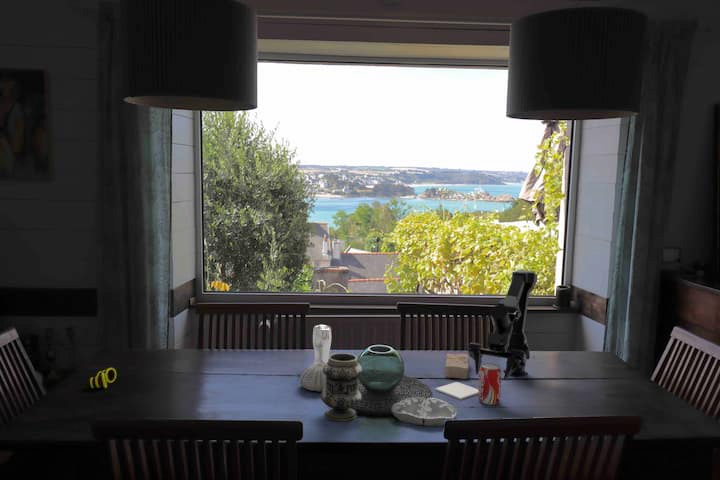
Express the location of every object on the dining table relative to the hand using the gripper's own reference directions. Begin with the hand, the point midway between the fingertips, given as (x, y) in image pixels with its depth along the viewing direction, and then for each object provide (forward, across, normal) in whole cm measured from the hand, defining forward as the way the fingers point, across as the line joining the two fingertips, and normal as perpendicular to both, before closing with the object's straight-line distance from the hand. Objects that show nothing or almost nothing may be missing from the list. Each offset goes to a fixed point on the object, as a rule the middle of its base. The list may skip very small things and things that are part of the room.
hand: (490, 376), depth 185 cm
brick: (-11, -20, +23) cm, 32 cm away
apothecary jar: (+31, -35, -19) cm, 50 cm away
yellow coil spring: (+46, -116, -33) cm, 129 cm away
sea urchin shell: (+19, -53, -7) cm, 57 cm away
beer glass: (+5, -65, +6) cm, 66 cm away
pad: (+3, -12, +8) cm, 15 cm away
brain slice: (+22, -14, -9) cm, 27 cm away
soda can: (+6, 0, +6) cm, 8 cm away
